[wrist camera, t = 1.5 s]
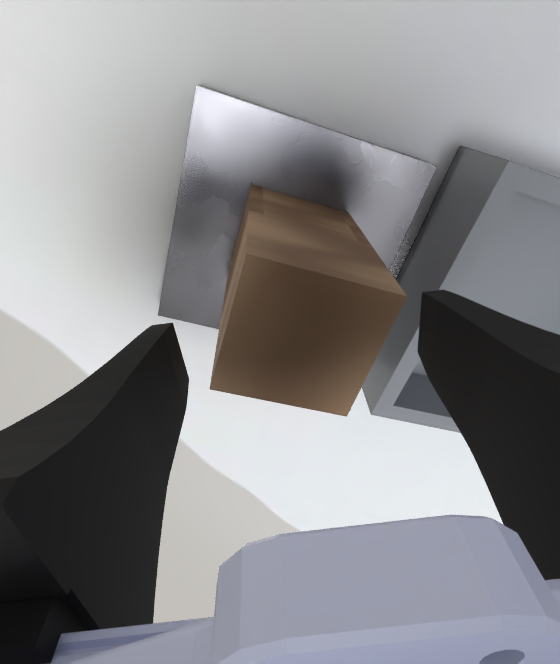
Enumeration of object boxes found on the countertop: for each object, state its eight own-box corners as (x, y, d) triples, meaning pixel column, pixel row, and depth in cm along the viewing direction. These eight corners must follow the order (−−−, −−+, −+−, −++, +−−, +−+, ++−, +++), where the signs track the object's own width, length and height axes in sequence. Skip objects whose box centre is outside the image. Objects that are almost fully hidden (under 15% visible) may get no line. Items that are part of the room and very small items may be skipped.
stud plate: (428, 162, 18) (479, 186, 14) (344, 348, 23) (363, 406, 19) (199, 85, 16) (179, 86, 12) (161, 305, 21) (138, 360, 17)
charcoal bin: (677, 222, 20) (765, 251, 16) (532, 405, 26) (574, 455, 22) (460, 145, 18) (508, 160, 14) (354, 366, 23) (371, 414, 20)
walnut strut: (349, 213, 18) (407, 296, 11) (315, 300, 20) (346, 416, 13) (251, 183, 17) (246, 253, 10) (227, 278, 19) (209, 389, 12)
